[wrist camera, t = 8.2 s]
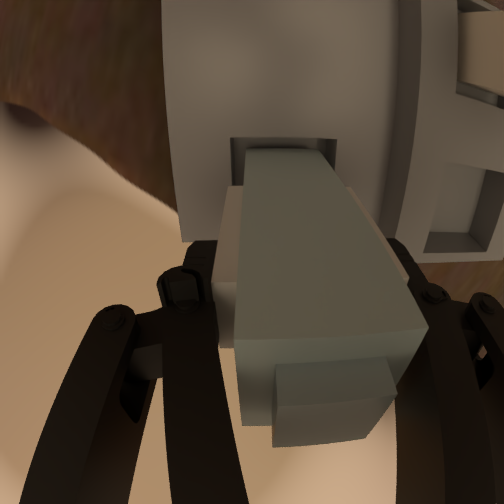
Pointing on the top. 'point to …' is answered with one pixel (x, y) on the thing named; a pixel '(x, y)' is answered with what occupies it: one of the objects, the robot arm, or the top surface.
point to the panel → (338, 113)
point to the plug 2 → (481, 50)
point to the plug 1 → (315, 305)
